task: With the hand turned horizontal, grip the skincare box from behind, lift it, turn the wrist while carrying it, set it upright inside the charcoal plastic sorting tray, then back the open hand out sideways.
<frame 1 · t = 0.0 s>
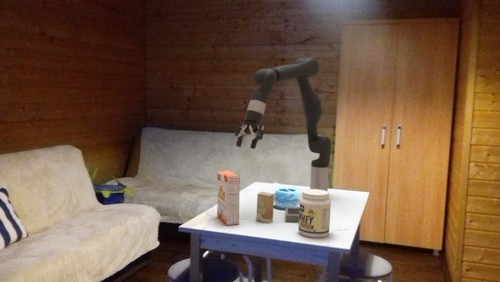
hand: (245, 147, 186), 31 cm above the table, tool tilted 20°, fingers open, 8 cm apart
supplement tub: (313, 233, 171), on the table
sorting tray: (300, 218, 191), on the table
skincare box: (264, 221, 186), on the table
cracker box: (227, 221, 185), on the table
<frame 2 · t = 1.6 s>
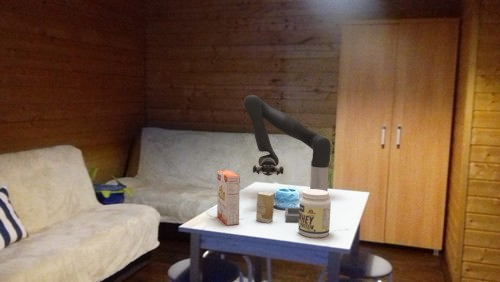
hand: (268, 172, 195), 19 cm above the table, tool horizontal, fingers open, 8 cm apart
nothing on the table moved.
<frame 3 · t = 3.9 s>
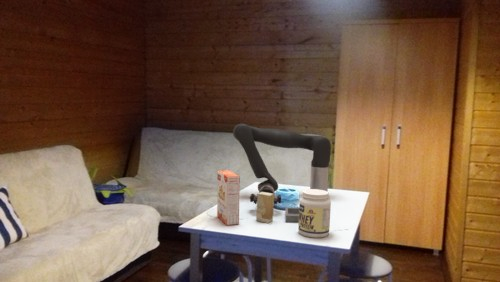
hand: (265, 202, 192), 7 cm above the table, tool horizontal, fingers open, 8 cm apart
nothing on the table moved.
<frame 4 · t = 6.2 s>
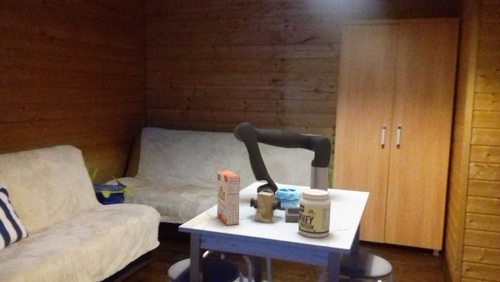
hand: (265, 207, 183), 7 cm above the table, tool horizontal, fingers closed on skincare box, 7 cm apart
skincare box: (264, 221, 186), on the table, touching gripper
everything else where it was.
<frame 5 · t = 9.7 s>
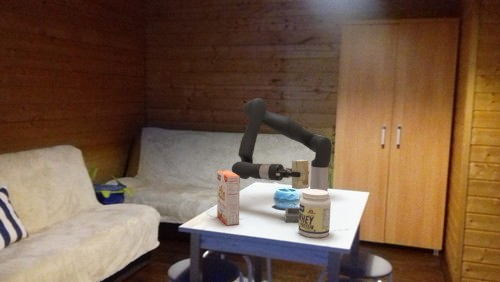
hand: (304, 173, 185), 21 cm above the table, tool horizontal, fingers closed on skincare box, 7 cm apart
skincare box: (300, 188, 186), point 14 cm above the table, touching gripper
everything else where it was.
when the fingers open (8 cm above the table, at t = 13.1 s): skincare box drops 1 cm, resting on sorting tray.
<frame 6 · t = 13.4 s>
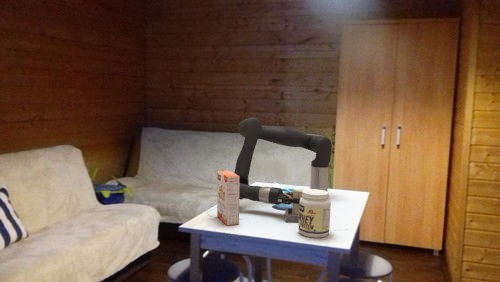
hand: (305, 199, 189), 9 cm above the table, tool horizontal, fingers open, 8 cm apart
skincare box: (300, 217, 191), resting on sorting tray
everything else where it was.
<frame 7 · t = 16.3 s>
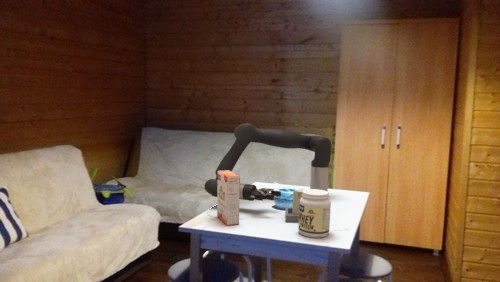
hand: (277, 195, 194), 9 cm above the table, tool horizontal, fingers open, 8 cm apart
nothing on the table moved.
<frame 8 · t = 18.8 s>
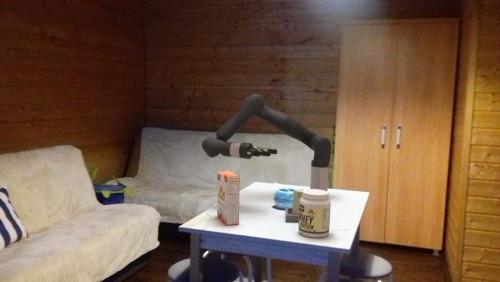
hand: (273, 152, 196), 28 cm above the table, tool horizontal, fingers open, 8 cm apart
nothing on the table moved.
at the end: skincare box inside the target area on the sorting tray (0.1 cm from its centre), point 0.4 cm above the sorting tray's base; skincare box tilted 0°; the gripper is holding nothing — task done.
